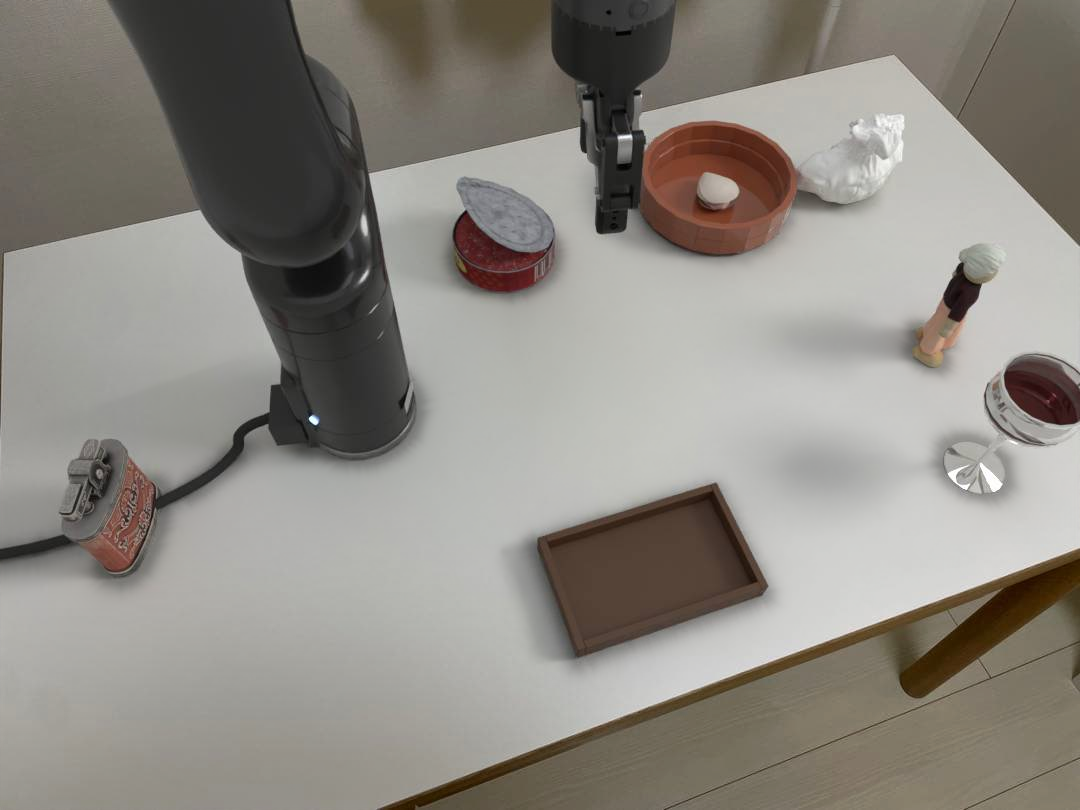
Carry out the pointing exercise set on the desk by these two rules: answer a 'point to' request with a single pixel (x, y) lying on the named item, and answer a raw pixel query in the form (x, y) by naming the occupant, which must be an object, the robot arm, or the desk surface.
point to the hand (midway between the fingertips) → (602, 188)
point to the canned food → (501, 238)
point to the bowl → (726, 153)
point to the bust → (855, 161)
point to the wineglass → (1020, 416)
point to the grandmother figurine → (957, 301)
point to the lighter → (109, 506)
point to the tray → (649, 568)
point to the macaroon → (716, 191)
